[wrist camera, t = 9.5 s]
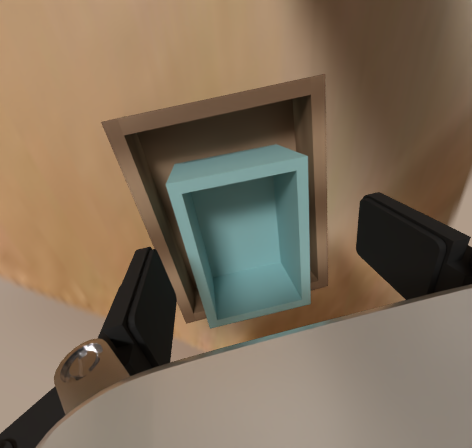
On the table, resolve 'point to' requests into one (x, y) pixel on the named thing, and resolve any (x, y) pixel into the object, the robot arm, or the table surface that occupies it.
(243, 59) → the table surface
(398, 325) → the robot arm
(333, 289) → the table surface
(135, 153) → the walnut crate
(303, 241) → the teal crate
